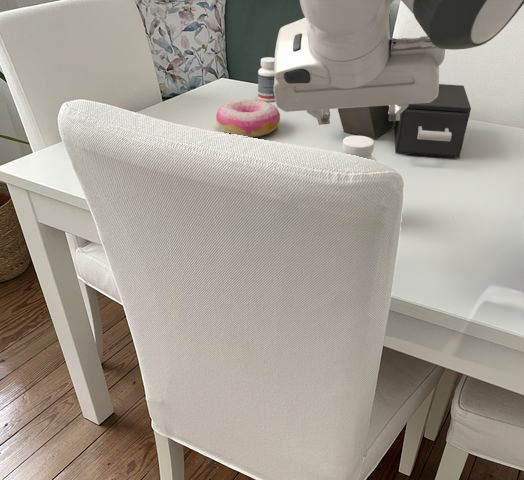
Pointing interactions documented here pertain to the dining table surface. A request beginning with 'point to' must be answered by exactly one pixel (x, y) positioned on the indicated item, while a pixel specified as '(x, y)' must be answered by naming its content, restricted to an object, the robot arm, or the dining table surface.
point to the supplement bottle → (359, 146)
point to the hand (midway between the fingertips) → (359, 118)
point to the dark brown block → (366, 120)
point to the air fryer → (446, 101)
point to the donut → (248, 117)
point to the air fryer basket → (432, 131)
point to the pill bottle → (266, 80)
